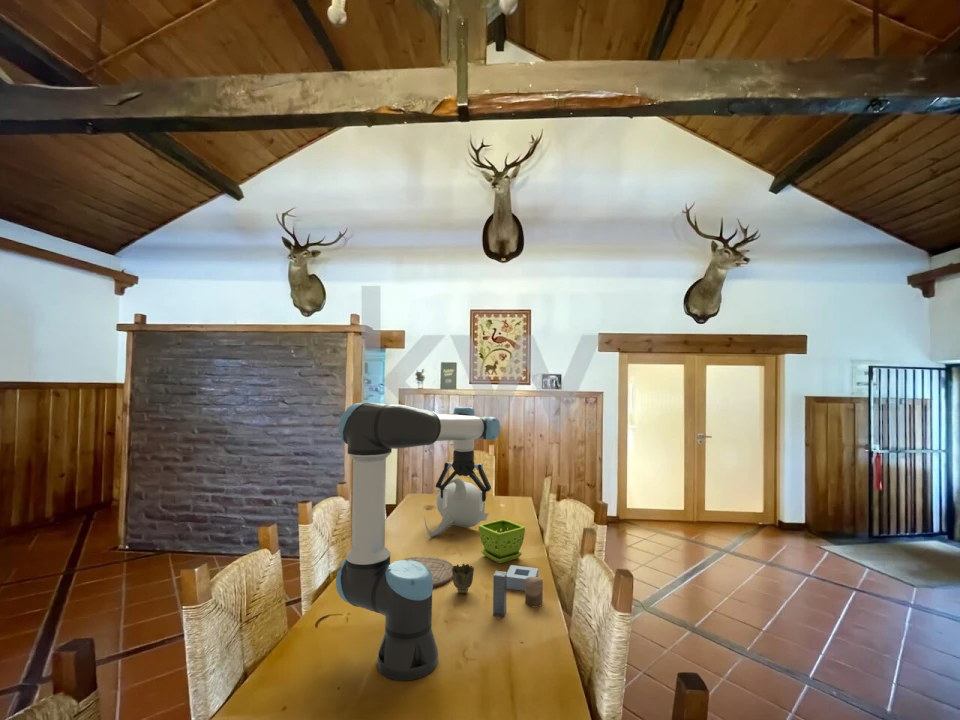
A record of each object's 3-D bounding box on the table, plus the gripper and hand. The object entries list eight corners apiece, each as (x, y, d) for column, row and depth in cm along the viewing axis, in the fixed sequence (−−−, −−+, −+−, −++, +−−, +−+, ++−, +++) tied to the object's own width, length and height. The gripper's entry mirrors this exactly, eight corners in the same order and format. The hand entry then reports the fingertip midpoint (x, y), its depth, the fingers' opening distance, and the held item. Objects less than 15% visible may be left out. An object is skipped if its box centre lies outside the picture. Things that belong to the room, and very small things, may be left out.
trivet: (443, 594, 153) (443, 588, 153) (373, 586, 158) (373, 581, 158) (461, 565, 178) (461, 560, 178) (400, 558, 183) (400, 554, 183)
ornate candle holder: (454, 598, 150) (454, 573, 150) (449, 588, 157) (449, 564, 157) (476, 596, 152) (476, 571, 152) (470, 586, 159) (471, 562, 159)
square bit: (503, 617, 139) (504, 576, 139) (492, 615, 140) (493, 575, 140) (506, 611, 142) (506, 572, 142) (495, 610, 143) (496, 570, 143)
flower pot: (503, 548, 194) (504, 518, 195) (526, 559, 183) (526, 527, 184) (477, 555, 186) (477, 524, 187) (498, 567, 175) (499, 533, 175)
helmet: (500, 489, 221) (454, 483, 195) (475, 545, 221) (426, 547, 194) (466, 466, 237) (419, 458, 210) (442, 519, 236) (393, 518, 209)
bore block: (534, 592, 155) (534, 580, 155) (504, 588, 158) (505, 576, 158) (538, 579, 165) (538, 568, 165) (510, 576, 167) (510, 565, 168)
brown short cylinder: (541, 607, 145) (541, 585, 145) (523, 605, 146) (524, 582, 146) (543, 599, 150) (543, 577, 150) (526, 597, 152) (527, 575, 152)
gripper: (499, 449, 168) (498, 508, 167) (434, 446, 174) (433, 503, 173) (495, 453, 161) (494, 514, 160) (427, 449, 166) (426, 509, 166)
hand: (463, 508), depth 166 cm, fingers open, 13 cm apart
